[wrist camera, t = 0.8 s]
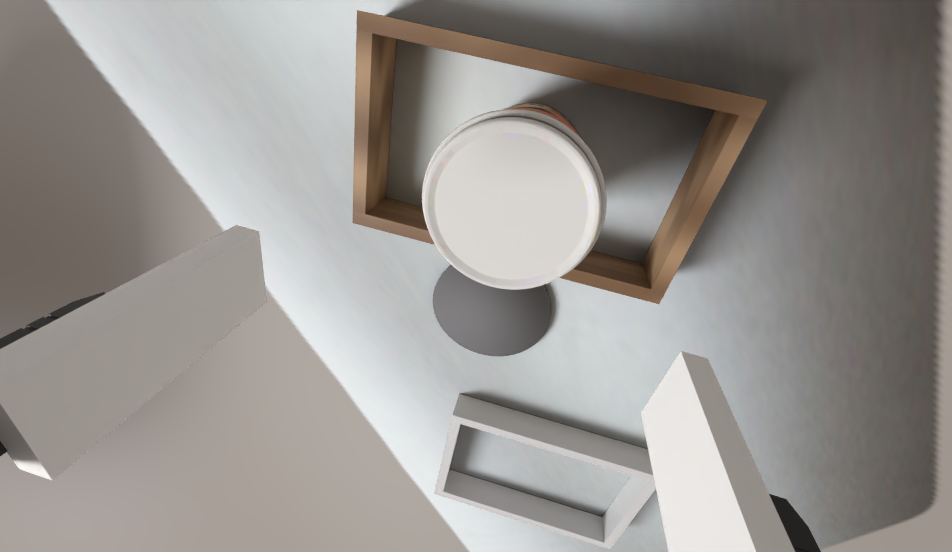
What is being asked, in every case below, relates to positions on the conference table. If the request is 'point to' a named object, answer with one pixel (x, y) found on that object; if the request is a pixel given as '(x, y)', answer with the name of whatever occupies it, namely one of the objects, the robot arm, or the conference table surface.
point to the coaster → (490, 314)
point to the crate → (713, 150)
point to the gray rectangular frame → (557, 441)
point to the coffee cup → (514, 197)
